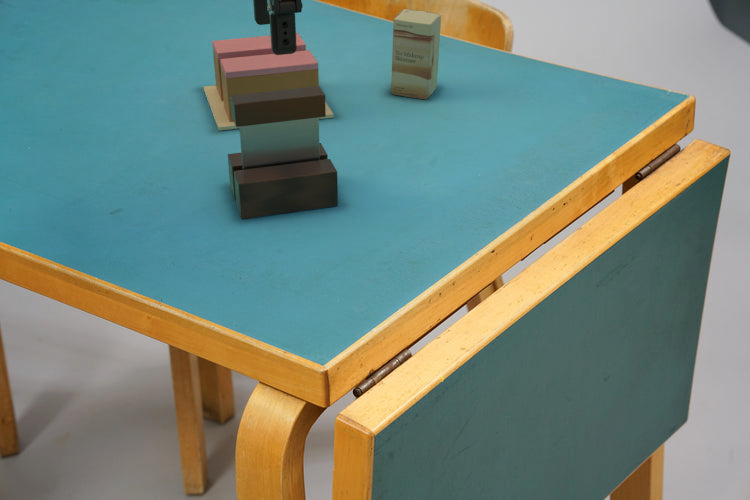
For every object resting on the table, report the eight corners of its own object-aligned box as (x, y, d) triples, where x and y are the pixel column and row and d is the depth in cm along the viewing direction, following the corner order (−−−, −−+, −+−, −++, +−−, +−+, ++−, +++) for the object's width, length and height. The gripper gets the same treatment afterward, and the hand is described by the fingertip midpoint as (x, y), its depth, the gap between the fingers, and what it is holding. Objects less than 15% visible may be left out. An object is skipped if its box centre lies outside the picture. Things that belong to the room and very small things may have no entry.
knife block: (241, 219, 98) (238, 184, 96) (230, 187, 104) (227, 153, 102) (338, 206, 101) (337, 171, 99) (321, 175, 106) (320, 142, 104)
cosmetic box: (389, 95, 125) (390, 18, 120) (400, 83, 129) (402, 7, 124) (428, 100, 124) (431, 23, 119) (438, 88, 127) (441, 12, 122)
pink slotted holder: (218, 131, 116) (214, 76, 112) (203, 89, 127) (198, 39, 123) (333, 117, 119) (332, 64, 116) (309, 78, 130) (307, 29, 126)
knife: (242, 208, 100) (234, 104, 94) (238, 197, 102) (230, 95, 96) (327, 196, 102) (325, 94, 96) (322, 186, 104) (319, 85, 98)
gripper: (209, -155, 90) (224, 18, 98) (235, -125, 78) (249, 68, 87) (289, -159, 91) (297, 11, 100) (326, -130, 80) (331, 59, 88)
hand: (275, 37), depth 93 cm, fingers open, 8 cm apart
